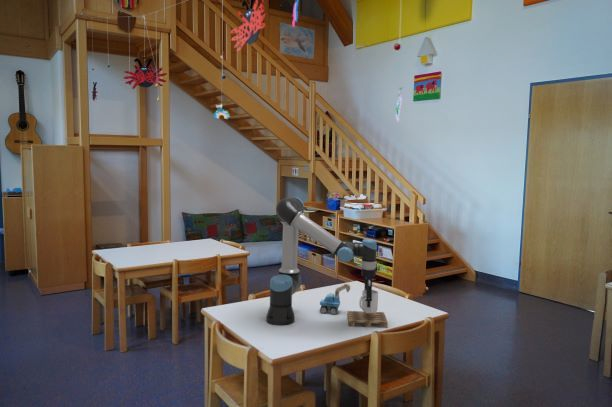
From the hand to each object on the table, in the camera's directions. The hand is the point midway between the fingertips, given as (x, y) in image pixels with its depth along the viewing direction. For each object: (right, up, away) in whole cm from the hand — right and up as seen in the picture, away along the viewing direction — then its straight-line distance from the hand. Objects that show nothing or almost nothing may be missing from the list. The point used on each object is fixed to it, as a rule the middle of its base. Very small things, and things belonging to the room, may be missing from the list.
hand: (367, 310), depth 263 cm
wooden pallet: (0, -6, +1) cm, 6 cm away
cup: (0, 0, -1) cm, 1 cm away
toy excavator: (-17, -5, +15) cm, 23 cm away
